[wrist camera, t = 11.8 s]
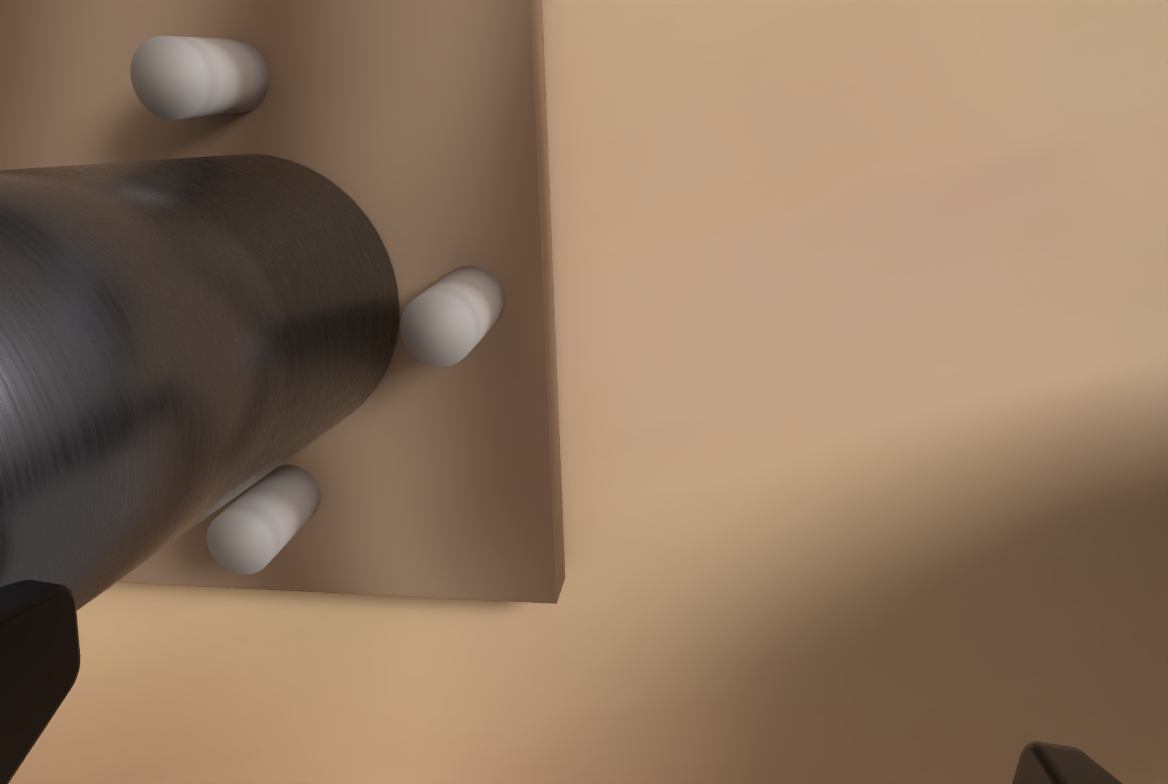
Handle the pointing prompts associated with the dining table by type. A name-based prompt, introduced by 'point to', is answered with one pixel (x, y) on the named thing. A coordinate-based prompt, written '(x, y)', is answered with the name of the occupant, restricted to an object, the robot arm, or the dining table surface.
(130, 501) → the tea tin
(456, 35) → the peg board
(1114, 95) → the dining table surface
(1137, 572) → the dining table surface
